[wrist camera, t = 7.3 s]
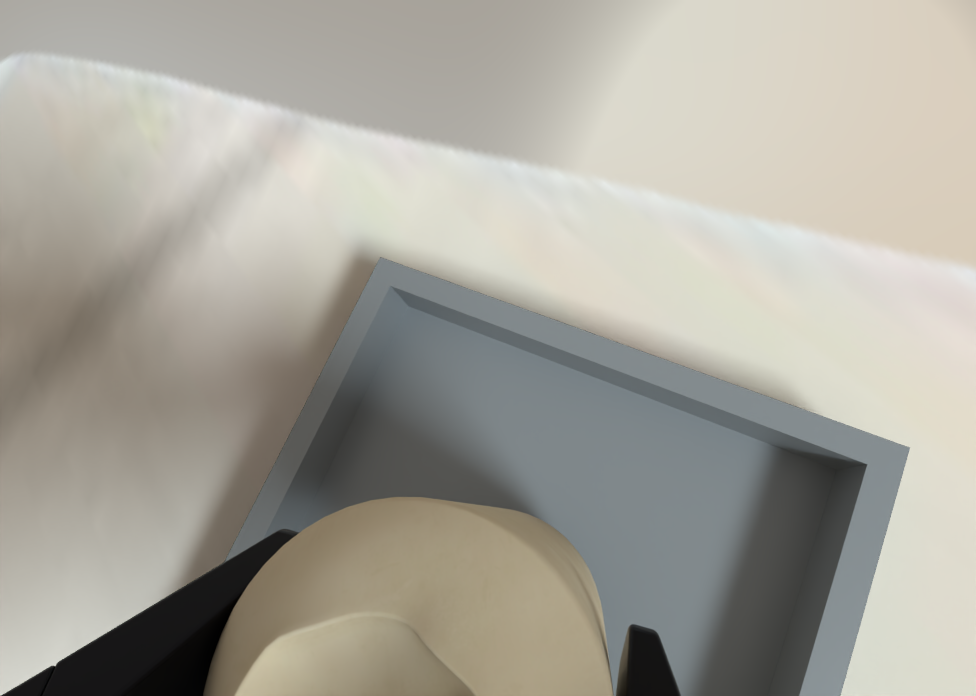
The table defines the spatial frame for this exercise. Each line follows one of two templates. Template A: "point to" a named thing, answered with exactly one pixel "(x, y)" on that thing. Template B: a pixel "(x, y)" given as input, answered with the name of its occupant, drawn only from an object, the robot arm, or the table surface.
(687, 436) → the tray
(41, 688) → the robot arm
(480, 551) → the candle
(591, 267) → the table surface
